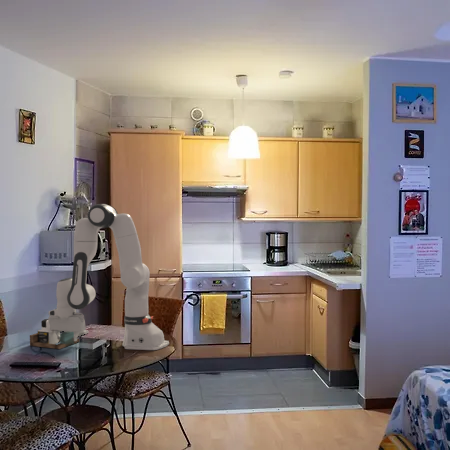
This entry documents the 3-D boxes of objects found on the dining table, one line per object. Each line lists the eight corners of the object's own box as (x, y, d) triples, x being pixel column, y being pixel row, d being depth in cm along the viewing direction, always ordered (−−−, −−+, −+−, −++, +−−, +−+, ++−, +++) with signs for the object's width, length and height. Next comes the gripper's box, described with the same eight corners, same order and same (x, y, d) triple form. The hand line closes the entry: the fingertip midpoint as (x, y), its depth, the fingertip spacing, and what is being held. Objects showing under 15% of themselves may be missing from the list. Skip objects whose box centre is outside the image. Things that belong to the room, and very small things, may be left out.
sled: (79, 341, 234) (79, 329, 234) (59, 349, 222) (59, 336, 222) (50, 338, 242) (50, 327, 241) (29, 345, 229) (29, 333, 229)
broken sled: (88, 333, 252) (88, 325, 252) (70, 339, 239) (70, 331, 239) (60, 330, 259) (60, 323, 259) (42, 336, 247) (41, 328, 247)
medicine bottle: (37, 344, 231) (36, 320, 231) (48, 341, 237) (47, 317, 237) (48, 346, 228) (48, 321, 228) (59, 342, 235) (58, 318, 234)
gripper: (88, 311, 227) (88, 340, 227) (55, 309, 235) (55, 336, 235) (79, 314, 221) (79, 343, 222) (45, 311, 229) (46, 339, 230)
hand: (67, 340), depth 229 cm, fingers open, 8 cm apart
